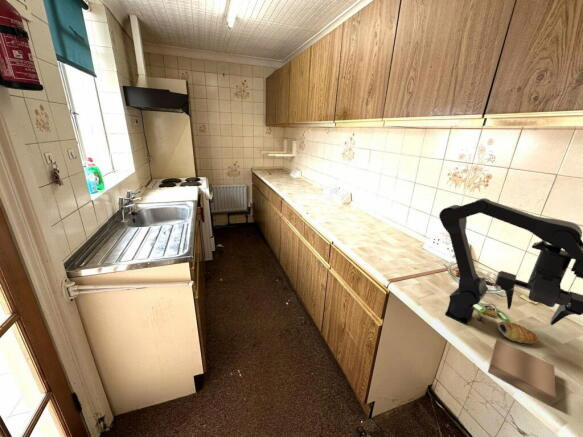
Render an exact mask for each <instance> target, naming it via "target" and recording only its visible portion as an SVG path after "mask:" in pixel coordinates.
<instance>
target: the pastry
mask: <svg viewBox="0 0 583 437" xmlns="http://www.w3.org/2000/svg"><path fill="white" fill-rule="evenodd" d="M497 330H498V331H499V332H500V333H501V334H502V335H503V336H504V337H505V338H507V340H511V341H513V342H518V343H521V344H531V345H532V344H535V343H537V342H538V339H539V338H538V336H537V335H536V333H535V332H534V331H532V330H530V329H527V328H526V327H524V326H522V325H520V324H517V323H515V322H510V321H508V320H507V321H503V320H502V321H500V322H498V323H497Z"/></svg>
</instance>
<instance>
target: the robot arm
mask: <svg viewBox="0 0 583 437" xmlns="http://www.w3.org/2000/svg"><path fill="white" fill-rule="evenodd" d="M478 214H482V215H485V216H488V217H490V218H494V219H496V220H499V221H501V222H504V223H507V224H509V225H512V226H514V227H517V228H520V229H523V230H525V231H527V232H530V233H531V234H533V235H534V236H535V237H537V238H538V239H540V241H536V242H534V243H533V244H532V245H531V249H534V250H538V251H539V254H538V257H537V258H536V261H535V264H534V266H533V269H532V271H531V274H530V275H529V278H528V282H527V281H523V280H520V279H517V274H513V273H511V272H507V271H503V270H501V271H498V272H497V276H496V279H495V282H494V283H495V285H496V286H498V287H500V289H501V290H502V291H504V292H505V296H506V301H507V303H506V304H507V310H510V309H511V307H512V302H513V298H514V292H515V287H517V288H520V289H523V290H526V291H529V294H528V299H529V301H531V302H534V303H539V304H541V305H544V306H545V307H549V308H554V307H555V306H556V305H558V307H557V309H556V310H555V312H554V313H553V315H552V317H551V320H550V321H549V325H551V326H554V325H555V324H557V323H558V322H559V321H561V320H563V319H564V318H566V317H568V316H570V315H577V316H581V315H583V294H580V293H577V292H573V291H568V290H565V289H563V288H561V284H562V281H563V279H564V277H565V275H566V272H567V270H568V268H569V266H570V264H571V261H572V259H573V260H574V261H573V262H574V263H573V264H572V267H571V269H570V272H573V275H575V278H579V279H582V280H583V240H582V236H583V230H582V228H581V227H580V226H579V225H578V224H576V223H574V222H571V221H565V220H561V219H556V218H550V217H549V218H548V217H542V216H537V215H534V214H531V213H528V212H525V211H522V210H519V209H515V208H513V207H510V206H508V205H504V204H501V203H499V202H495V201H492V200H490V199H489V198H486V197H485V198H484V197H483V198H479V199H477V200H475V201H472V202H469V203H466V204H463V205H458V204H454V205H450V206H448V207H445V208H443V209H441V211H440V212H439V214H438V215H439V220H440V222H441V225H442V227H443V228H444V230H445V231H446V232H447V233H448V235H449V238H450V242H451V246H452V250H453V252H454V258H455V262H456V265H457V270H458V273H459V279H458V288H457V289H456V290H454V291H453V292H452V293H451V294H450V295H449V302H448V307H447V310H445V312H444V313H445V314H444V315H445V316H446V317H449V318H451V319H454V320H456V321H457V322H460V323H462V324H464V325H468V322H470V321H471V319H472V318H473V314H474V311H475V310H476V309H475V305H477V304H479V303H480V302H481V301H482V299H483V298H484V297H485V296H486V295H487V292H488V290H489V288H488V286H487V283H486V278H485V277H480V276H479V275H478V273H477V272H476V271H477V270H476V268H475V263H474V259H473V256H472V252H471V248H470V245H469V241H468V236H467V232H466V230H467V229H466V228H467V222H468V221H467V218H468V217H470V216H474V215H478Z"/></svg>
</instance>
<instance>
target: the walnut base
mask: <svg viewBox="0 0 583 437" xmlns="http://www.w3.org/2000/svg"><path fill="white" fill-rule="evenodd" d="M488 365H489V366H488V370H487V373H488V374H490V375H492V376H493V377H496V378H497V379H500V380H501V381H502V382H505V383H506V384H509V385H510V386H512V387H514V388H515V389H517V390H520V391H522V392H524V393H525V394H527V395H529V396H531V397H533V398H535V399H537V400H538V401H540V402H541V403H543V404H546V405H547V406H550V407H552V405H553V403H554V402H555V399H556V397H557V396H556V378H555V377H556V376H555V374H556V373H555V365H554V364H553V363H550V362H548V361H545V360H543V359H541V358H539V357H537V356H535V355H532V354H530V353H528V352H526V351H524V350H522V349H519V348H517V347H515V346H513V345H510V344H508V343H506V342H504V341H502V340H500V339H498V338H497V339H496V341H495V342H494V345H493V349H492V353H491V357H490V362H489V364H488Z"/></svg>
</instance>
